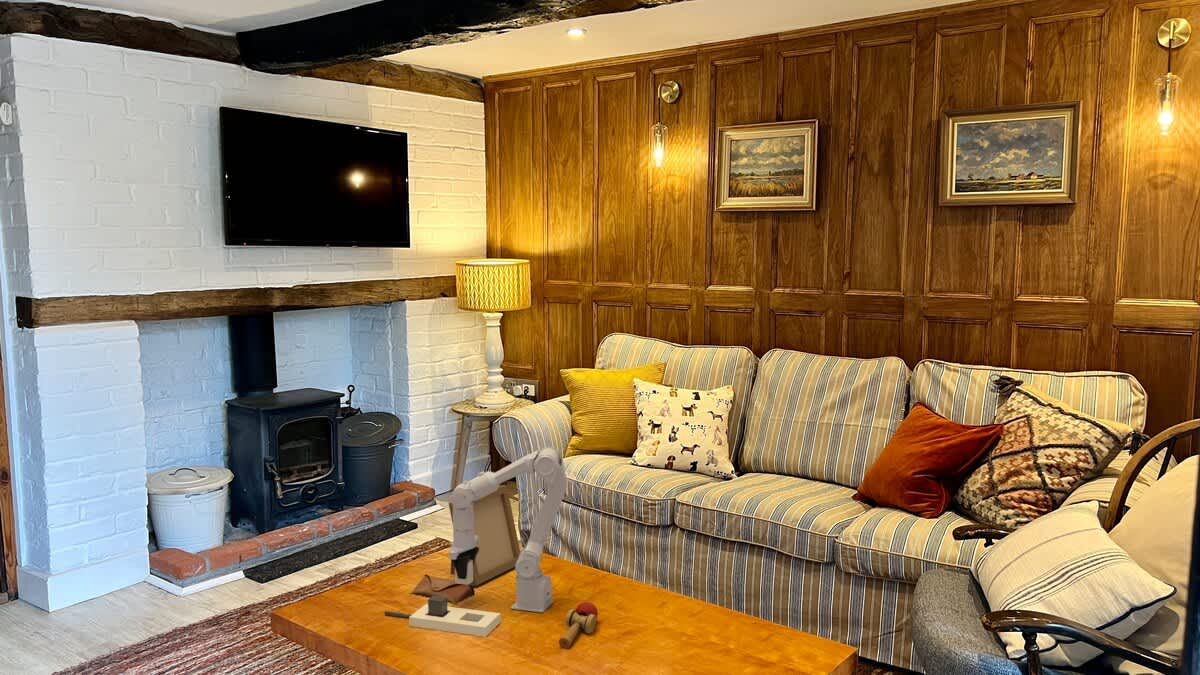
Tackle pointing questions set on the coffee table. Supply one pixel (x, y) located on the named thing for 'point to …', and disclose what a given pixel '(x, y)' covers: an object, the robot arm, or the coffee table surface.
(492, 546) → the photo frame
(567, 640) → the kendama
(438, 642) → the coffee table surface
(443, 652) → the coffee table surface
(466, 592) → the sunglasses case
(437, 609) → the power strip
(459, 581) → the beige plug
